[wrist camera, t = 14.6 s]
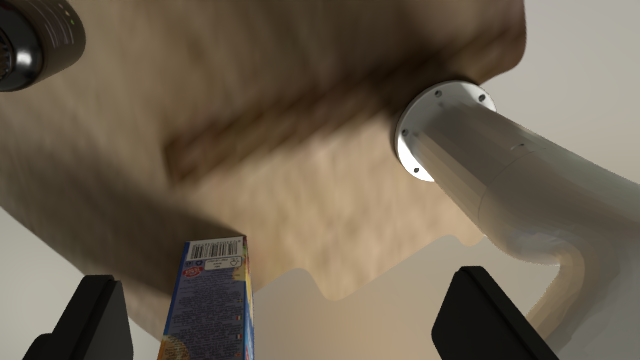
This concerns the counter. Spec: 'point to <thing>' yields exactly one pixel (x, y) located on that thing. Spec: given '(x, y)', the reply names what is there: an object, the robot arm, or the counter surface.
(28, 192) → the counter surface
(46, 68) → the supplement bottle
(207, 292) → the juice carton
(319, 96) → the counter surface
